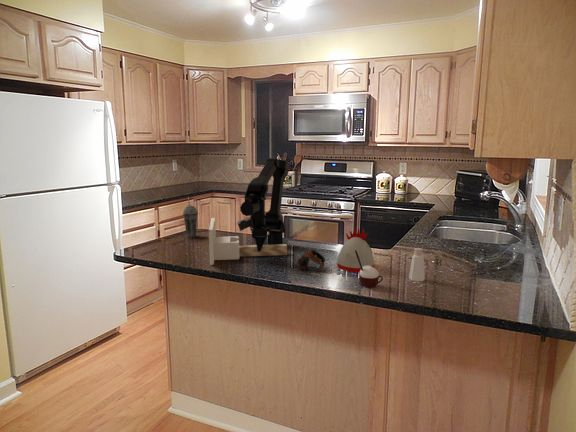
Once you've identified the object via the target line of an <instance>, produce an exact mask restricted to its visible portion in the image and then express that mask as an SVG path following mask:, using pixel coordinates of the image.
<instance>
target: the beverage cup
mask: <svg viewBox="0 0 576 432" xmlns="http://www.w3.org/2000/svg"><path fill="white" fill-rule="evenodd" d="M187 201H188V205H186V207H184V209H183V212H182V214H183V215H182V216H183V219H184V226H185V227H184V228H185V233H186V238H196V237H197V227H198V225H197V224H198V215H199V212H198V209H197V208H196V207H195V206H194V205H191V204H190V197H189V196H188V197H187Z"/></svg>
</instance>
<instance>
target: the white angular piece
mask: <svg viewBox="0 0 576 432" xmlns="http://www.w3.org/2000/svg"><path fill="white" fill-rule="evenodd" d="M239 239H240V237H239V235H238V236H237V235H235V236H231V235H229V236H216V217H211V220H210V223H209V227H208V245H209V249H208V250H209V265H210V266H213V265H215V261H224V260H225V261H226V260H240V257H239V246H240V240H239Z"/></svg>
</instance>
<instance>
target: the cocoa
mask: <svg viewBox="0 0 576 432" xmlns="http://www.w3.org/2000/svg"><path fill="white" fill-rule="evenodd" d="M355 253H356V256H357V259H358V262H359V265H360V267H361V270H360V272H359V282H360V284H361V285H362V286H363V287H365V288H374V287H376V285H378V284H380V283H382V281H383V275H379V274H380V272H379V271H378V270H377V268H375V267H374V268H373V267H371V266H363V267H362V265H361V262H360V259H359V256H358V253H357V251H356V250H355ZM379 278H381V279H379Z"/></svg>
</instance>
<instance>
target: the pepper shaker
mask: <svg viewBox="0 0 576 432" xmlns="http://www.w3.org/2000/svg"><path fill="white" fill-rule="evenodd" d="M413 249H414V250H413V251H414V253H413V255H412V257H411V258H412V259H411V261H410V262H411V263H410V268H409V273H408V279H409V280H411V281H413V282H417V283H418V282H424V280H426V279H425V257H424V255H423V250H424V249H423V248H421V247H415V248H413Z"/></svg>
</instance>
